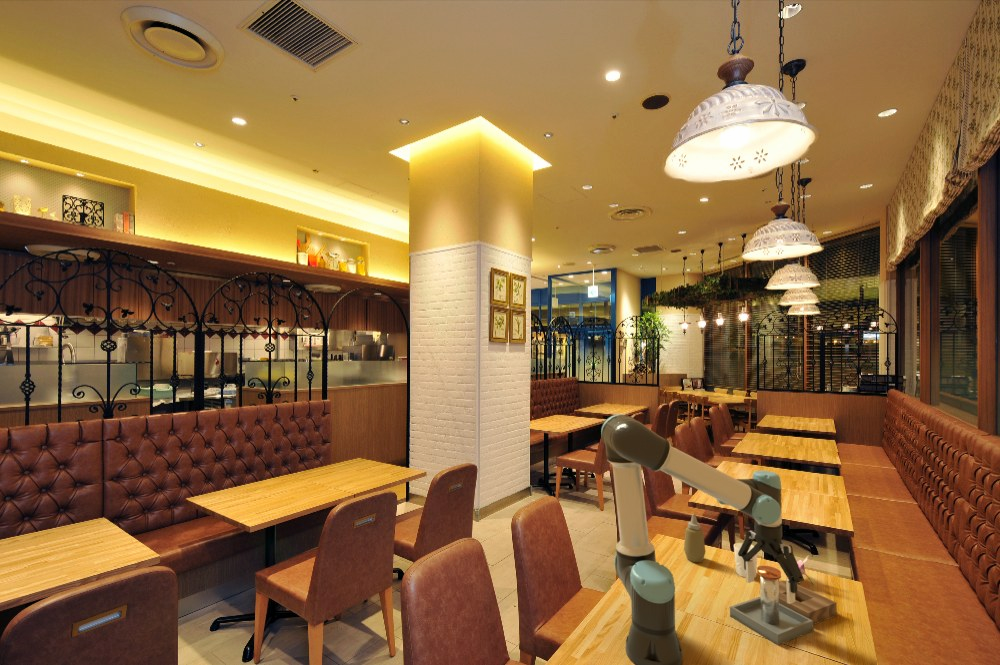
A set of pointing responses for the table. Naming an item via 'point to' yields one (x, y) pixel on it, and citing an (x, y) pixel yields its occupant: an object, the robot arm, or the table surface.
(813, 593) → the socket block
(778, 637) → the tray
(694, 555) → the squeeze bottle
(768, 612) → the copper-capped cylinder
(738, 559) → the white cup
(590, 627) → the table surface
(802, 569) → the lily
